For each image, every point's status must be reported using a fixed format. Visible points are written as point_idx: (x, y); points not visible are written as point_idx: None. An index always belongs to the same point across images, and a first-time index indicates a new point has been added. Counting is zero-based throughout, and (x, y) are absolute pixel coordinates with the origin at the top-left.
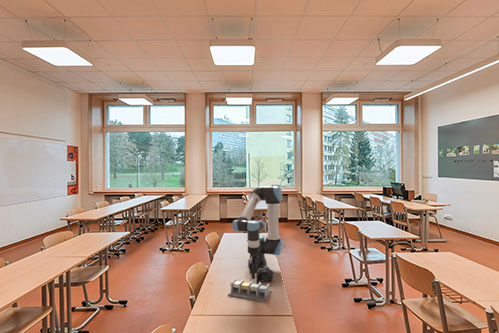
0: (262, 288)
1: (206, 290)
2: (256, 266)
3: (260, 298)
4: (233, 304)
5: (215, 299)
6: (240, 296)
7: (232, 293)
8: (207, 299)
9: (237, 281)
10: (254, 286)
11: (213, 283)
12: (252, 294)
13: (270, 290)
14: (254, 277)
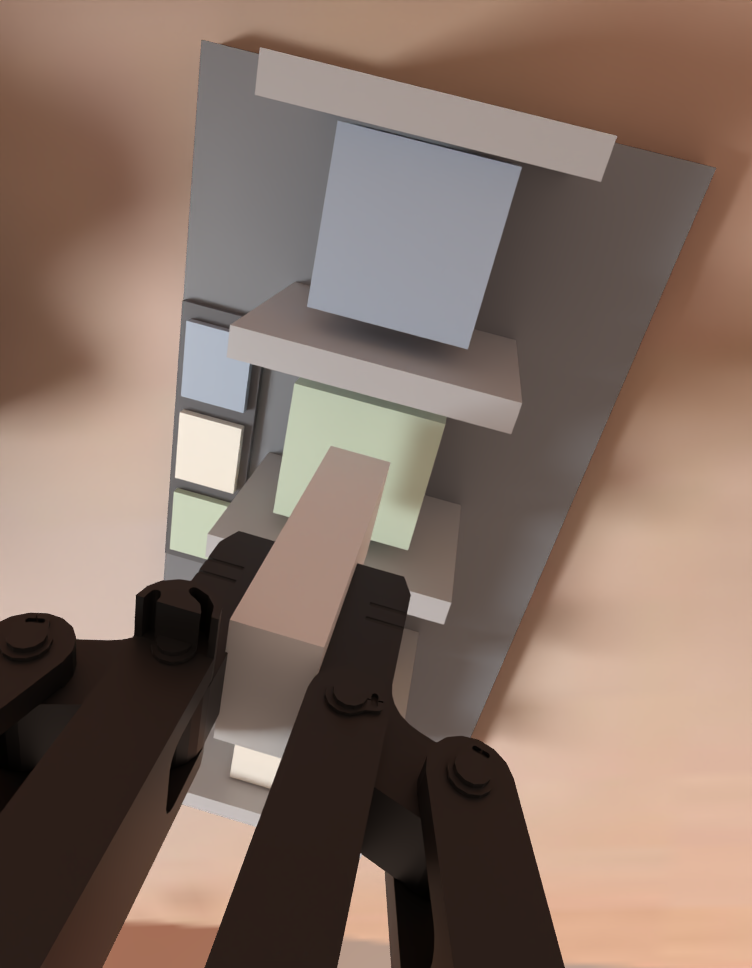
0: (485, 255)
1: (367, 925)
2: (15, 843)
3: (609, 269)
4: (719, 675)
5: (569, 853)
6: (520, 614)
7: (446, 718)
8: (568, 914)
9: (243, 752)
10: (395, 463)
11: (197, 879)
12: (453, 440)
13: (232, 56)
14: (363, 592)
